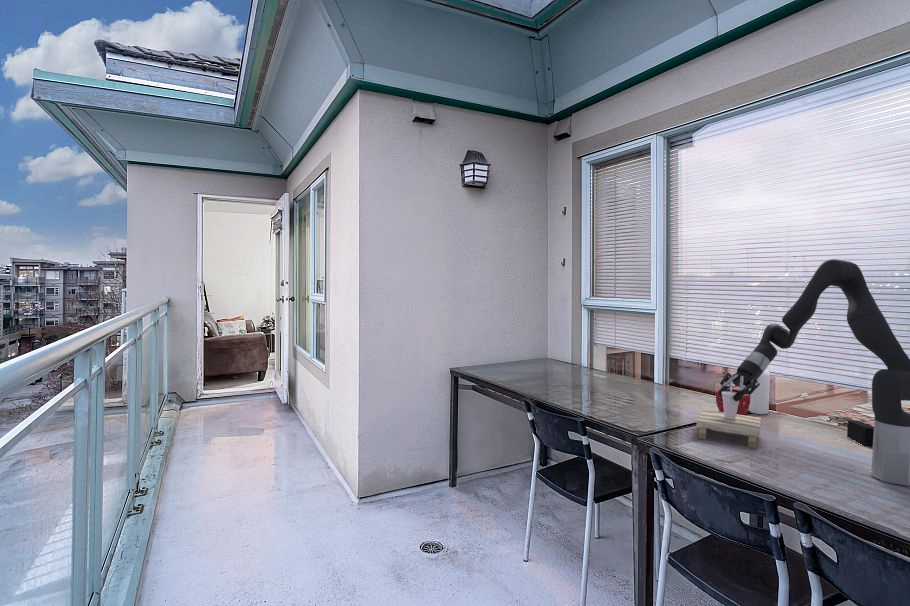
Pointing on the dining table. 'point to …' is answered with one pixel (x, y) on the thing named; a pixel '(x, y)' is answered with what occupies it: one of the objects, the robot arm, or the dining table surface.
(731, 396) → the smoothie
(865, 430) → the digital camera
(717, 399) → the plant pot
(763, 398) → the alcohol
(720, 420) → the low wooden platform
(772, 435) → the dining table surface
